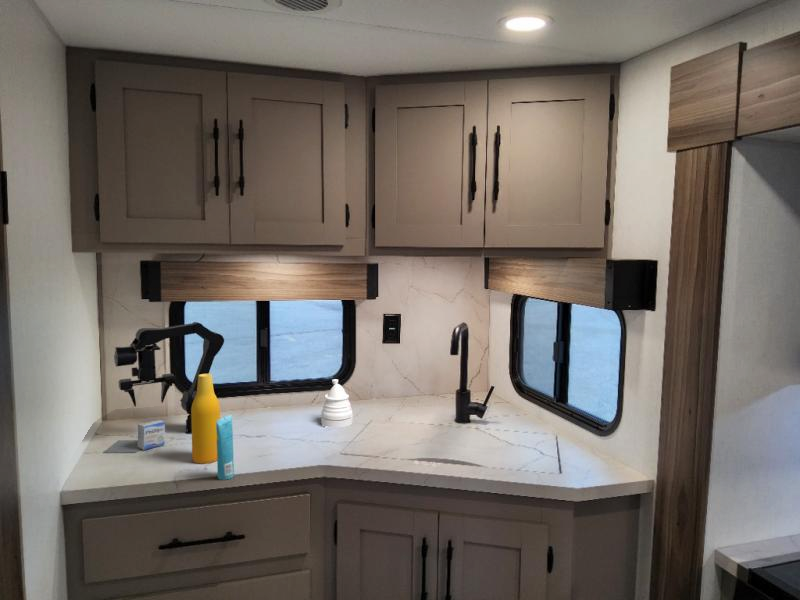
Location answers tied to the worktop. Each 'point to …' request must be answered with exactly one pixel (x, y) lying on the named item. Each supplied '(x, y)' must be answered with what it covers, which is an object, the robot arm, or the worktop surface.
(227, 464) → the tube
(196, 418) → the beer bottle
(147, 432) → the medicine box
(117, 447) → the rubber mat
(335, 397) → the honey pot
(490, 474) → the worktop surface
